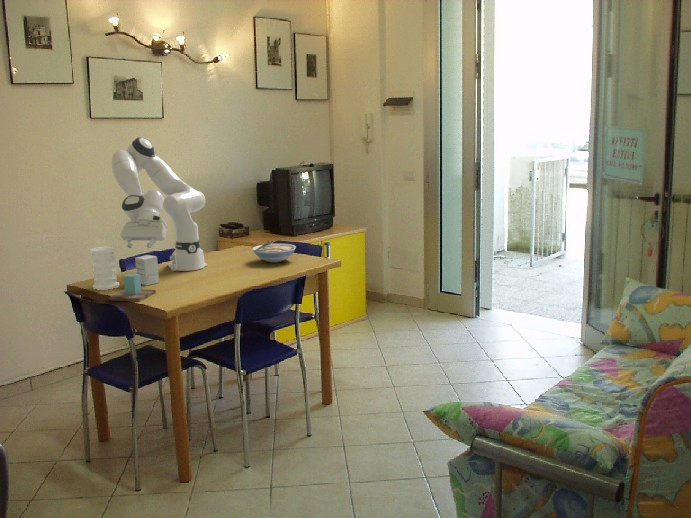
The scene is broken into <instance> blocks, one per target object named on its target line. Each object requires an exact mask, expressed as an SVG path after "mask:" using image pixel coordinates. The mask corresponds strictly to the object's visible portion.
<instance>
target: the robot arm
mask: <svg viewBox="0 0 691 518" xmlns="http://www.w3.org/2000/svg"><path fill="white" fill-rule="evenodd" d="M111 169H112V173H113V176H114V179H115V180H116V182H117V184H118V185H119V186H120V187H121V189H122V190H123V191H124V193H125V194H126V196H127V197H125V198H124V199H123V201H122V203H121V208H122V209H121V210H123V212H124V213H125V215H126V216H127V217H128V219H129V220H130V221H128V222H126V223H125V224H124V226H123V227H122V230H121V231H120V234H119V235H120V237H121V239H122V240H123V241H126V242H127V243H126V248H128V249H132V247H133V244H132V243H131V242H132V241H149V242H147V243H146V248H147V249H152V247H153V245H154V244H155V243H157V241H159V242H161V241H164V240H165V239H166V236H167V232H168V231H167V230H168V229H167V228H168V223H167V222H166V220H165V219H164V218H163V217H162V216H160V214H161V213H162V210H163V209H164V210H163V211H164V212H165V213H166V214H167V215H169V216H170V218H171V220H172V221H173V224H174V230H175V237H176V238H175V239H176V241H175V250H174V251H173V252H172V254H171V255H170V256H169V261H171V262H169V263H167V266H168V267H169V269H170V271H173V272H174V271H175V272H177V271H180V272H181V271H182V272H187V271H188V272H189V271H190V272H191V271H196V270H197V271H198V270H201V269H203V268H205V267H207V266H208V263H207V262H205V256H204V255H205V254H204V250H203V249H201V242H200V238H199V226H198V224H197V222H196V221H194V219H193V218H192V215H191V213H196V212H198V211H200V210H201V209H203V208H204V207H205V206H206V202H207V201H206V196H205V195H204V193H203V192H202V191H199V190H196V189H195V188H193V187H192V186H190V185H189V184H187V183H186V182H185V181H183V180H182V179H181V178H180V177H179V176H178V175H177V174H176V173H175V172H174V171H173V170H172V168H171V166H170V165H168V164H167V163H166V162H165V161H164V159H162V158H161V157H159V156H158V155H156V151H155V147H154V146H153V143H152V142H151V141H150V140H148V139H147V138H145V137H140V136H139V137H137V138H135V139H134V140H133V141H132V143H131V144H130V145H129V146H128V147H127V148H126V150H124V149H120V150H116V151H115V152H114V153H113V155H112V157H111ZM142 169H143V170H144V171H145V173H146V174H147V175H148V177H149V178H150V180H151V181H152V182H153V183H154V185H155V186H156V187H157V188H158V189H159V190H156V189H148V190H147V191H146V192H144V193H143V191H142V187H141V182H140V181H141V180H140V177H139V176H140V175H139V172H140V171H141V170H142ZM163 194H164V195H167V196H166V197H165V198H164V195H163Z"/></svg>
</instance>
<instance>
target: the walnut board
mask: <svg viewBox="0 0 691 518" xmlns="http://www.w3.org/2000/svg"><path fill="white" fill-rule="evenodd" d="M141 290H142V292H140V293H138V294H136V295H128V294H125V289H123V290H121V291H119V292H116V293H115V294H112V295H111V296H109V301H115V302H116V301H117V302H118V301H119V302H137V301H138V302H142V301H144V300H145V299H147V298H149V297H151V296H153V295H154V294H156V293H157V291H156V289H147V288H146V289H145V288H141Z"/></svg>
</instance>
